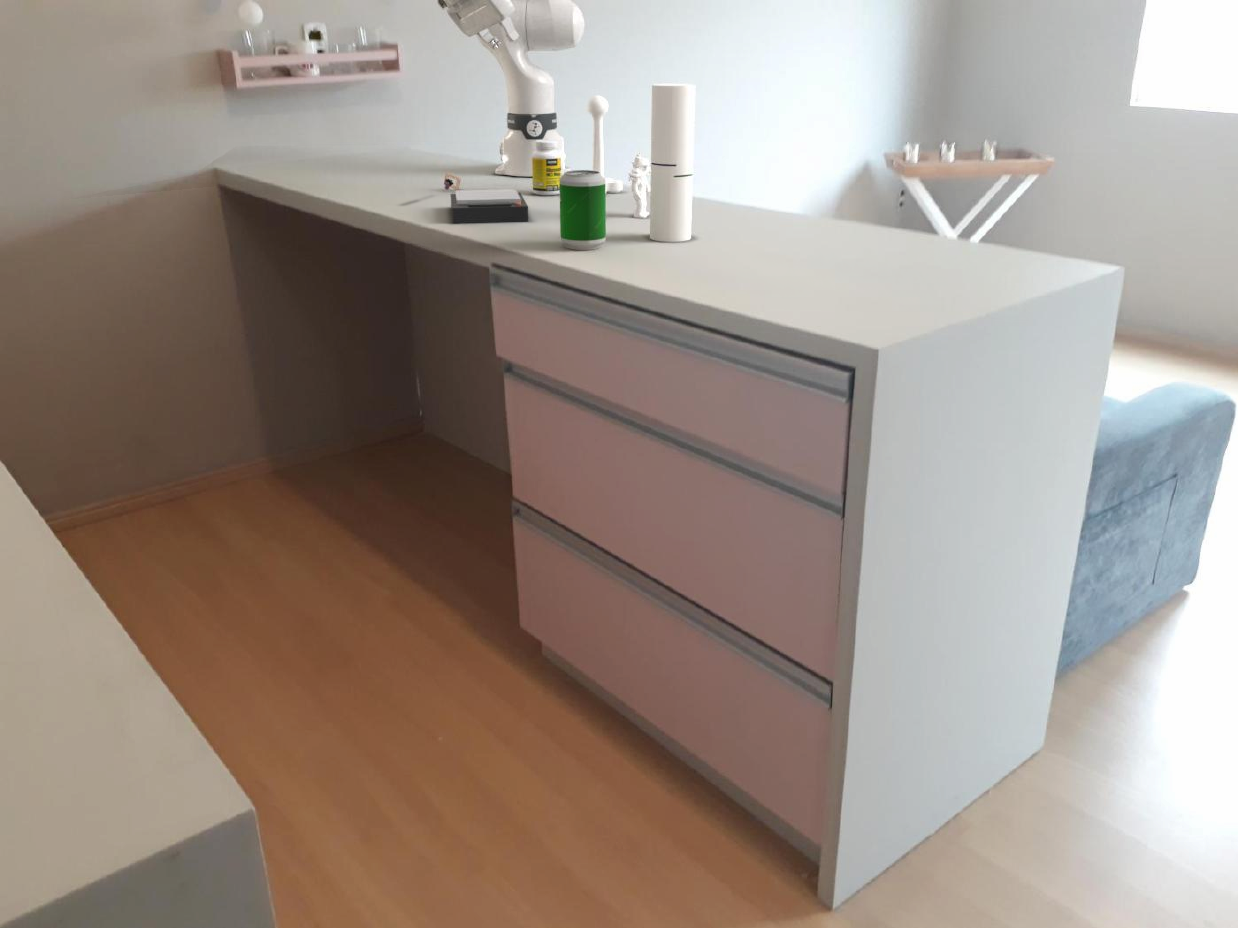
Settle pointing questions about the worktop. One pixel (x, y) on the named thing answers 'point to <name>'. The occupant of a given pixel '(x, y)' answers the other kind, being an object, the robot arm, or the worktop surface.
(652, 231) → the cylindrical container
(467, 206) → the scale
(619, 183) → the joystick
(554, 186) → the pill bottle
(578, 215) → the soda can
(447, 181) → the framed picture
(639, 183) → the hat wearing toy figure
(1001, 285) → the worktop surface
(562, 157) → the robot arm
